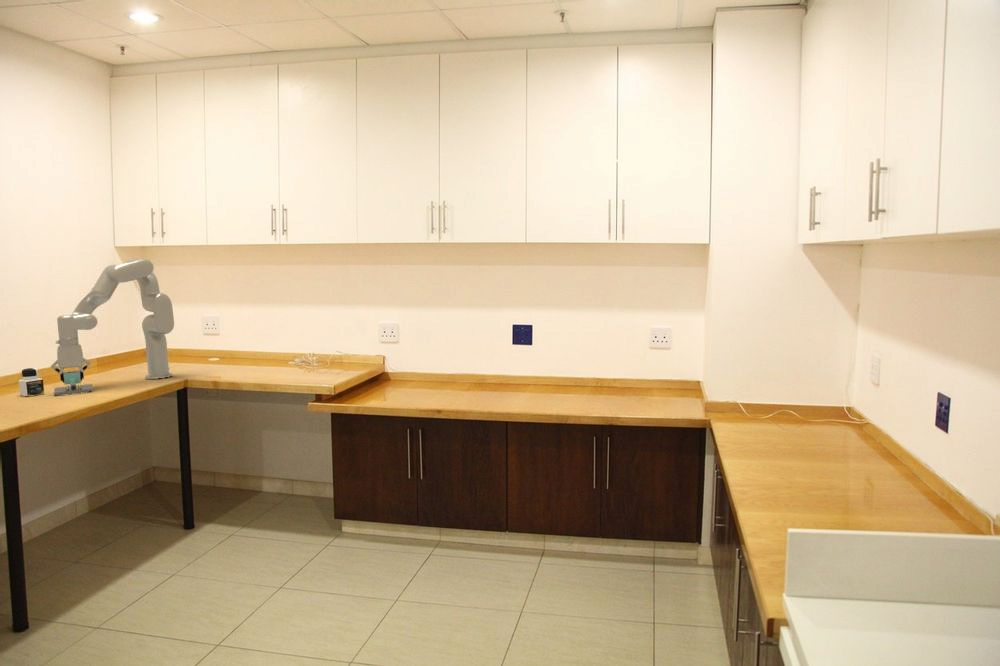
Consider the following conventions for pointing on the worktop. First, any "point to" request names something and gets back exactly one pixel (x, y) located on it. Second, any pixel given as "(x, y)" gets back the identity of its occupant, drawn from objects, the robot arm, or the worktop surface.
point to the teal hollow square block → (72, 377)
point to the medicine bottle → (31, 383)
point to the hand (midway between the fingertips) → (72, 381)
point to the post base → (73, 389)
